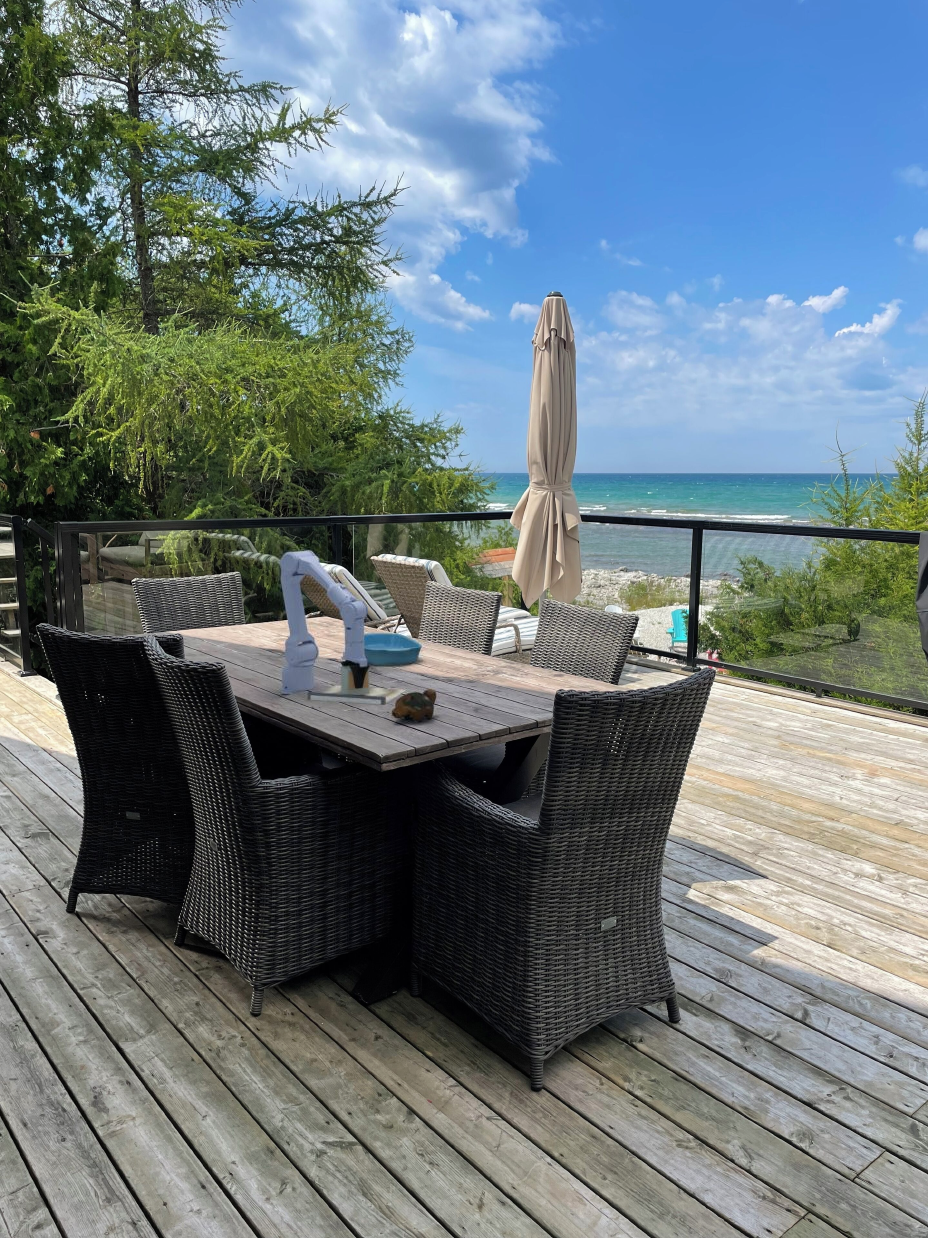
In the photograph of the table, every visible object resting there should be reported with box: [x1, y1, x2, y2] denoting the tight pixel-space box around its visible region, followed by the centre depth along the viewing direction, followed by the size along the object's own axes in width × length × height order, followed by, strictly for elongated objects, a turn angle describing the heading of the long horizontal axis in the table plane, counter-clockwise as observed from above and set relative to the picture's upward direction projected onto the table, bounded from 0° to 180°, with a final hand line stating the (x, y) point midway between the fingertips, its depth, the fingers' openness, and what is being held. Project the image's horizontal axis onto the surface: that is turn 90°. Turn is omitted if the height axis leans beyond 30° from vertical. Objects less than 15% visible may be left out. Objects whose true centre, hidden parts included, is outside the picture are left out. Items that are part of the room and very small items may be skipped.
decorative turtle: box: [391, 689, 437, 723], centre depth 250 cm, size 10×15×8 cm, turn 138°
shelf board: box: [320, 685, 407, 704], centre depth 275 cm, size 24×18×2 cm
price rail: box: [307, 691, 387, 705], centre depth 265 cm, size 24×1×4 cm, turn 75°
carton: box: [340, 665, 370, 695], centre depth 271 cm, size 5×7×8 cm
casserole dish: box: [364, 632, 423, 667], centre depth 339 cm, size 37×22×7 cm, turn 22°
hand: (355, 686), depth 271 cm, fingers closed on carton, 5 cm apart
